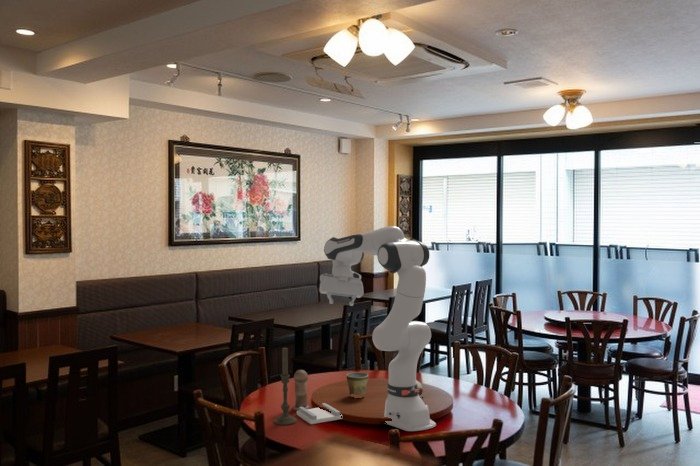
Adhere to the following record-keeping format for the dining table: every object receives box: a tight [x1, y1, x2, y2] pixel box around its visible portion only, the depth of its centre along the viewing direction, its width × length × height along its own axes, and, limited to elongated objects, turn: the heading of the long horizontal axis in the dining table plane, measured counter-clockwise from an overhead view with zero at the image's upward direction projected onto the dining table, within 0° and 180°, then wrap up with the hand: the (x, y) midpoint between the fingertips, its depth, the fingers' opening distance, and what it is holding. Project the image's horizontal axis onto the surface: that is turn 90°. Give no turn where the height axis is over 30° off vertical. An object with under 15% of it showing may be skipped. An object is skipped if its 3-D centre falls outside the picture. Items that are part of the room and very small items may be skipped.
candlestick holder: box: [273, 347, 298, 426], centre depth 241 cm, size 9×9×30 cm
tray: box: [296, 402, 343, 425], centre depth 247 cm, size 14×14×3 cm
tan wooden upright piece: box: [292, 369, 310, 412], centre depth 258 cm, size 7×7×16 cm
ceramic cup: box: [345, 371, 369, 395], centre depth 277 cm, size 13×10×10 cm
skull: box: [416, 379, 424, 395], centre depth 276 cm, size 12×10×10 cm
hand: (341, 304), depth 271 cm, fingers open, 8 cm apart
